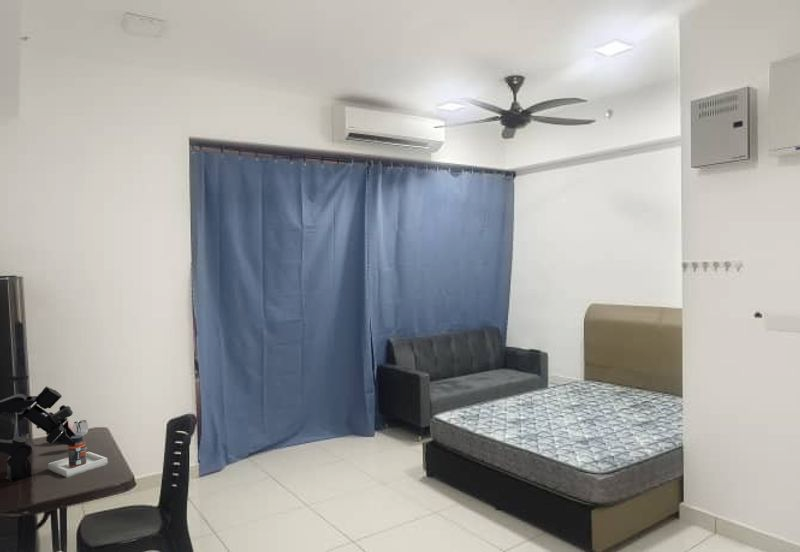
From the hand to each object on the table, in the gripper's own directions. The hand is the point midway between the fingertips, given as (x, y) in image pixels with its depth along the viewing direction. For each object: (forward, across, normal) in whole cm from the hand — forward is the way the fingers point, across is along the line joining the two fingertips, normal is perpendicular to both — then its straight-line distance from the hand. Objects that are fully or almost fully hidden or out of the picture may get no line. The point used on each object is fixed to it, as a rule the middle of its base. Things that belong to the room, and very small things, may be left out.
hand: (75, 441), depth 211 cm
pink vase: (+3, +39, +12) cm, 41 cm away
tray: (+8, 0, +7) cm, 10 cm away
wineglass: (+8, +24, +7) cm, 26 cm away
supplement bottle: (+7, 0, +6) cm, 10 cm away
